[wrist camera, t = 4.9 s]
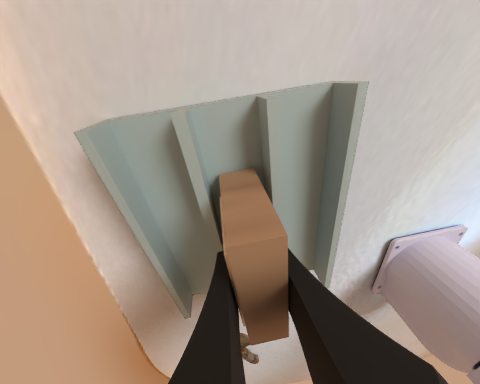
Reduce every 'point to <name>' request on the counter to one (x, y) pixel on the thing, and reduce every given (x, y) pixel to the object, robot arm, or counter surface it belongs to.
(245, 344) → the brown knife
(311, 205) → the notched rack
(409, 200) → the counter surface
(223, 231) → the tan wooden slab
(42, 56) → the counter surface
